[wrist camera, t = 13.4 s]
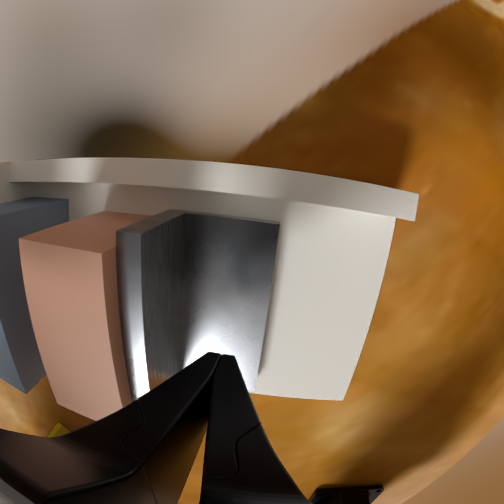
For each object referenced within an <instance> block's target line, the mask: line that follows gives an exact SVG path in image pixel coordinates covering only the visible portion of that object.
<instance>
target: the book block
mask: <svg viewBox="0 0 504 504" xmlns="http://www.w3.org/2000/svg"><path fill="white" fill-rule="evenodd" d="M148 217H151V216H150V215H140V214H130V213H120V212H110V211H102V212H99V213H95V214H92V215H88V216H85V217H82V218H78V219H75V220H72V221H69V222H66V223H62V224H59V225H56V226H53V227H50V228H47V229H44V230H41V231H38V232H35V233H32V234H29V235H27V236H24V237H21V238H19V249H20V258H21V266H22V273H23V280H24V286H25V292H26V298H27V303H28V308H29V312H30V317H31V321H32V326H33V330H34V334H35V338H36V341H37V345H38V348H39V352H40V355H41V359H42V362H43V365H44V368H45V371H46V374H47V377H48V380H49V383H50V386H51V388H52V391H53V394H54V396H55V399H56V401H57V404H59V405H61V406H63V407H65V408H67V409H70V410H72V411H74V412H76V413H78V414H81V415H83V416H85V417H88V418H90V419H93V420H95V421H97V420H100V419H102V418H104V417H106V416H108V415H110V414H112V413H114V412H116V411H118V410H119V409H121V408H123V407H125V406H126V405H128V404H130V403H131V402H132V399H131V394H130V388H129V383H128V377H127V371H126V364H125V357H124V350H123V342H122V334H121V325H120V314H119V302H118V288H117V268H116V230H119V229H121V228H123V227H126V226H128V225H131V224H133V223H136V222H138V221H141V220H143V219H146V218H148Z"/></svg>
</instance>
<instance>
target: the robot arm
mask: <svg viewBox="0 0 504 504" xmlns="http://www.w3.org/2000/svg"><path fill="white" fill-rule="evenodd" d="M206 430H207V434H206V444H205V454H204V464H203V475H202V486H201V495H200V502H199V504H371V503H372V502H373V501H374V500H375V499H376V498H377V497H378V496H379V495H380V494H381V493H382V491H383V490H384V487H383V485H379V486H370V487H359V488H345V489H320V490H316V491H315V492H314V493H313V495H312V496H311V498H310V499H309V500H308V499H307V498H306V497H305V496H304V495H303V493H302V492H301V491H300V489H299V488H298V487H297V485H296V484H295V482H294V481H293V479H292V478H291V476H290V475H289V473H288V472H287V471H286V469H285V468H284V466H283V465H282V463H281V461H280V460H279V458H278V457H277V455H276V453H275V452H274V450H273V448H272V446H271V444H270V442H269V440H268V438H267V436H266V434H265V431H264V429H263V426H262V425H261V422H260V419H259V417H258V414H257V412H256V409H255V407H254V404H253V402H252V399H251V397H250V394H249V392H248V389H247V386H246V384H245V381H244V379H243V376H242V373H241V371H240V368H239V365H238V363H237V360H236V357H235V356H234V355H228V354H222V355H221V354H220V353H215V352H207V353H205V354H204V355H202V356H201V357H200V358H198V359H197V360H195V361H194V362H192V363H191V364H189V365H188V366H186V367H185V368H183V369H182V370H180V371H179V372H178V373H176V374H175V375H173V376H172V377H170V378H169V379H167V380H166V381H164V382H162V383H161V384H159V385H158V386H156V387H155V388H153V389H152V390H150V391H149V392H147V393H146V394H144V395H142V396H141V397H139V398H138V400H134V401H133V402H131V403H130V404H128V405H126V406H125V407H123V408H121V409H119V410H118V411H116V412H114V413H112V414H110V415H108V416H106V417H104V418H102V419H100V420H97V421H95V422H93V423H91V424H88V425H86V426H84V427H81V428H79V429H76V430H74V431H72V432H69V433H67V434H64V435H61V436H56V437H40V436H34V435H28V434H23V433H18V432H13V431H8V430H4V429H0V504H177V503H178V501H179V498H180V496H181V493H182V491H183V488H184V486H185V483H186V481H187V478H188V476H189V473H190V471H191V468H192V466H193V463H194V460H195V458H196V455H197V453H198V450H199V448H200V445H201V443H202V440H203V437H204V435H205V432H206Z"/></svg>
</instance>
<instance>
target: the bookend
mask: <svg viewBox="0 0 504 504" xmlns="http://www.w3.org/2000/svg"><path fill="white" fill-rule="evenodd" d="M279 228H280V222H278V221H271V220H263V219H255V218H247V217H239V216H230V215H222V214H213V213H204V212H195V211H186V210H176V209H169V210H167V211H164V212H161V213H159V214H156V215H153V216H151V217H148V218H146V219H143V220H141V221H138V222H136V223H133V224H131V225H128V226H126V227H123V228H121V229H119V230H116V268H117V288H118V302H119V314H120V325H121V334H122V342H123V350H124V357H125V364H126V371H127V377H128V383H129V388H130V394H131V399H132V402H133V401H134V400H138V398H139V397H141V396H142V395H144V394H146V393H147V392H149V391H150V390H152V389H153V388H155V387H156V386H158V385H159V384H161V383H162V382H164V381H166V380H167V379H169V378H170V377H172V376H173V375H175V374H176V373H178V372H179V371H180V370H182V369H183V368H185V367H186V366H188V365H189V364H191V363H192V362H194V361H195V360H197V359H198V358H200V357H201V356H202V355H204V354H205V353H207V352H215V353H220V354H221V355H222V354H228V355H234V356H235V357H236V360H237V363H238V365H239V368H240V371H241V373H242V376H243V379H244V381H245V384H246V386H247V389H248V391H253V392H255V387H256V381H257V375H258V369H259V363H260V356H261V350H262V344H263V338H264V331H265V325H266V318H267V312H268V305H269V299H270V292H271V285H272V278H273V271H274V264H275V257H276V250H277V243H278V235H279Z"/></svg>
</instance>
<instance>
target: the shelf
mask: <svg viewBox="0 0 504 504" xmlns="http://www.w3.org/2000/svg"><path fill="white" fill-rule="evenodd" d="M418 198H419V194H416V193H412V192H407V191H403V190H398V189H394V188H389V187H385V186H380V185H375V184H370V183H365V182H360V181H354V180H349V179H343V178H337V177H332V176H326V175H319V174H313V173H306V172H300V171H292V170H285V169H277V168H269V167H261V166H252V165H243V164H232V163H221V162H209V161H195V160H178V159H157V158H62V159H42V160H29V161H28V160H27V161H15V162H3V163H0V378H1V379H3V380H4V381H6V382H8V383H9V384H11V385H12V386H14V387H16V388H17V389H19V390H20V391H22V392H24V393H26V394H27V393H28V392H29V391H30V390H31V389H32V388H33V387H34V386H35V385H36V384H37V383H38V382H39V381H40V380H41V379H42V377H43V376H44V375H45V374H46V371H45V368H44V365H43V362H42V359H41V355H40V352H39V348H38V345H37V341H36V338H35V334H34V330H33V326H32V321H31V317H30V312H29V308H28V303H27V298H26V292H25V286H24V280H23V273H22V266H21V258H20V249H19V238H21V237H24V236H27V235H29V234H32V233H35V232H38V231H41V230H44V229H47V228H50V227H53V226H56V225H59V224H62V223H66V222H69V221H72V220H75V219H78V218H82V217H85V216H88V215H92V214H95V213H99V212H102V211H110V212H120V213H130V214H140V215H150V216H153V215H156V214H159V213H161V212H164V211H167V210H169V209H176V210H186V211H195V212H204V213H213V214H222V215H230V216H239V217H247V218H255V219H263V220H271V221H278V222H280V228H279V235H278V243H277V250H276V257H275V264H274V271H273V278H272V285H271V292H270V299H269V305H268V312H267V318H266V325H265V331H264V338H263V344H262V350H261V356H260V363H259V369H258V375H257V381H256V387H255V392H253V391H248V392H249V393H256V394H264V395H272V396H282V397H292V398H305V399H320V400H343V399H344V396H345V394H346V391H347V389H348V386H349V384H350V381H351V378H352V376H353V373H354V370H355V368H356V365H357V362H358V359H359V356H360V354H361V351H362V348H363V345H364V342H365V339H366V336H367V332H368V329H369V326H370V323H371V320H372V316H373V313H374V309H375V306H376V302H377V299H378V295H379V291H380V288H381V284H382V280H383V276H384V272H385V268H386V264H387V259H388V255H389V250H390V246H391V241H392V236H393V231H394V226H395V220H396V218H400V219H405V220H410V221H415V216H416V210H417V204H418Z"/></svg>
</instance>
